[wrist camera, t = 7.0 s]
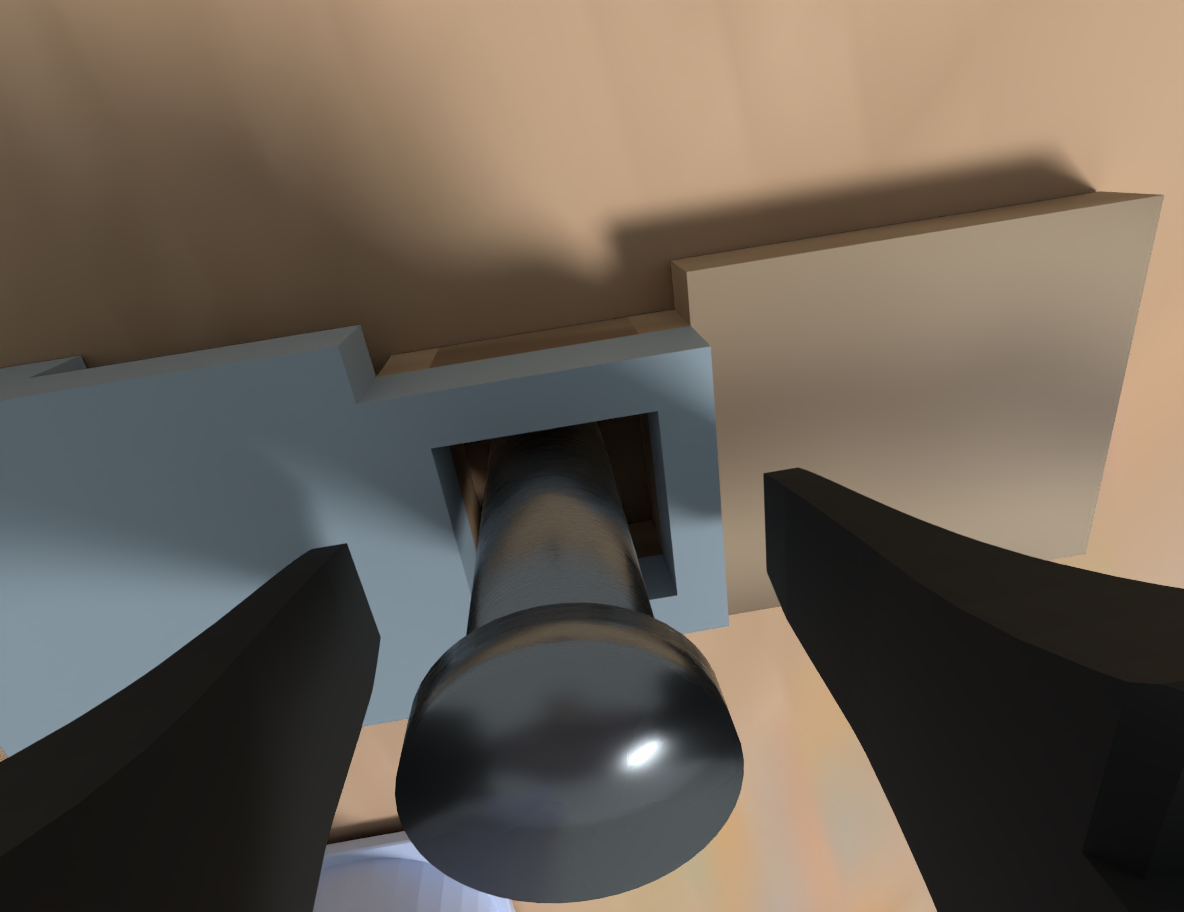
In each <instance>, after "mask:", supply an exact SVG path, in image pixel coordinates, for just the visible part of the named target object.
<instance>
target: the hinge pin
mask: <svg viewBox="0 0 1184 912" xmlns="http://www.w3.org/2000/svg"><path fill="white" fill-rule="evenodd" d="M743 775H744V759H743V753H742V747H741V743H740V740H739V738H738V735H737V732H736V729H735V727H734V724H733V721H732V719H731V716H730V713H729V711H728V708H727V705H726V703H725V700H724V697H723V695H722V692H721V689H720V687H719V684H718V681H717V679H716V676H715V673H714V671H713V670H712V668H711V666H710V664H709V663H708V661H707V659H706V658H705V657H704V656H703V654H702V653H701V652H700V651H699V650H698V648H697V647H696V646H695V645H694V644H693V643H692V642H691V641H689V640H688V639H687V638H686V637H685V636H684V635H683V634H681V633H680V632H678V631H677V630H675V629H674V628H672V627H670V626H669V625H667V624H666V623H664V622H662V621H660V620H657V619H655V618H654V615H653V611H652V608H651V604H650V601H649V597H648V594H647V590H646V587H645V583H644V580H643V576H642V573H641V569H640V566H639V562H638V559H637V555H636V552H635V548H634V545H633V541H632V538H631V534H630V531H629V527H628V524H627V520H626V517H625V513H624V510H623V506H622V503H621V499H620V495H619V492H618V488H617V485H616V481H615V478H614V474H613V471H612V467H611V464H610V460H609V457H608V453H607V450H606V446H605V443H604V439H603V436H602V433H601V431H600V428H599V427H598V425H597V423H596V422H595V421H594V422H588V423H582V424H576V425H570V426H564V427H558V428H552V429H546V430H540V431H534V432H528V433H522V434H516V435H510V436H503V437H497V438H492V440H491V446H490V454H489V461H488V469H487V477H486V485H485V492H484V500H483V508H482V516H481V523H480V531H479V539H478V547H477V555H476V562H475V570H474V578H473V586H472V593H471V601H470V609H469V617H468V624H467V632H466V636H465V637H463V638H462V639H460V640H459V641H458V642H456V643H455V644H454V645H453V646H452V647H451V648H449V649H448V650H447V651H446V652H445V653H444V654H443V655H442V656H441V657H440V658H439V659H438V660H437V661H436V663H435V664H434V665H433V666H432V667H431V668H430V670H429V671H428V673H427V674H426V676H425V677H424V679H423V680H422V682H421V684H420V686H419V688H418V690H417V693H416V695H415V697H414V700H413V703H412V707H411V711H410V715H409V720H408V724H407V729H406V734H405V738H404V743H403V748H402V752H401V757H400V762H399V766H398V771H397V776H396V787H395V798H396V806H397V812H398V815H399V818H400V821H401V824H402V827H403V829H404V831H405V832H406V834H407V836H408V838H409V840H410V841H411V843H412V844H413V845H414V847H415V848H416V849H417V850H418V852H419V853H420V854H421V855H422V856H423V857H424V858H425V859H426V860H427V861H428V862H429V863H430V864H431V865H433V866H434V867H435V868H437V869H438V870H439V871H441V872H442V873H444V874H445V875H446V876H448V877H450V878H452V879H454V880H455V881H457V882H459V883H461V884H463V885H465V886H468V887H470V888H473V889H475V890H477V891H480V892H483V893H487V894H490V895H493V896H497V897H501V898H506V899H511V900H517V901H525V902H535V903H568V902H581V901H587V900H593V899H600V898H604V897H608V896H612V895H617V894H620V893H623V892H626V891H630V890H633V889H636V888H639V887H641V886H643V885H646V884H648V883H650V882H653V881H655V880H657V879H659V878H661V877H663V876H665V875H667V874H668V873H670V872H672V871H674V870H675V869H677V868H678V867H680V866H681V865H683V864H684V863H686V862H687V861H689V860H690V859H691V858H693V857H694V856H695V855H696V854H697V853H699V852H700V851H701V850H702V849H703V848H705V847H706V845H707V844H708V843H709V842H710V841H711V840H712V839H713V838H714V837H715V836H716V835H717V834H718V832H719V831H720V830H721V828H722V827H723V826H724V824H725V823H726V822H727V820H728V818H729V816H730V815H731V813H732V811H733V809H734V807H735V805H736V802H737V799H738V797H739V794H740V791H741V786H742V781H743Z"/></svg>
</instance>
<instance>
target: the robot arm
mask: <svg viewBox="0 0 1184 912" xmlns="http://www.w3.org/2000/svg"><path fill="white" fill-rule="evenodd" d="M763 479H764V510H765V540H766V571H767V574H768V576H769V579H770V581H771V584H772V586H773V588H774V591H775V593H776V596H777V598H778V600H779V603H780V605H781V607H782V609H783V612H784V614H785V616H786V619H787V620H788V622H789V624H790V626H791V627H792V629H793V631H794V632H795V634H796V636H797V637H798V639H799V641H800V643H801V644H802V646H803V648H804V649H805V651H806V653H807V654H808V656H809V658H810V659H811V661H812V663H813V664H814V666H815V668H816V669H817V671H818V672H819V674H820V676H821V677H822V679H823V681H824V682H825V684H826V686H827V687H828V689H829V691H830V692H831V694H832V696H833V697H834V699H835V701H836V702H837V704H838V706H839V707H840V709H841V710H842V712H843V714H844V715H845V717H846V719H847V720H848V722H849V724H850V725H851V727H852V729H853V731H854V733H855V734H856V736H857V738H858V740H859V742H860V743H861V745H862V747H863V749H864V751H865V753H866V755H867V757H868V759H869V761H870V763H871V765H872V767H873V769H874V772H875V774H876V776H877V778H878V780H879V782H880V784H881V786H882V789H883V791H884V793H885V795H886V797H887V799H888V801H889V803H890V805H891V808H892V810H893V812H894V814H895V816H896V818H897V821H898V823H899V825H900V827H901V830H902V832H903V834H904V836H905V839H906V841H907V843H908V845H909V847H910V850H911V852H912V854H913V856H914V859H915V861H916V863H917V865H918V868H919V870H920V872H921V874H922V876H923V879H924V881H925V883H926V886H927V888H928V890H929V893H930V895H931V897H932V900H933V902H934V905H935V907H936V909H937V912H1184V589H1182V588H1175V587H1169V586H1163V585H1157V584H1152V583H1147V582H1141V581H1136V580H1131V579H1126V578H1120V577H1115V576H1111V575H1106V574H1102V573H1098V572H1093V571H1089V570H1084V569H1080V568H1076V567H1071V566H1067V565H1062V564H1058V563H1054V562H1050V561H1047V560H1043V559H1039V558H1035V557H1031V556H1028V555H1024V554H1021V553H1018V552H1014V551H1011V550H1008V549H1004V548H1001V547H998V546H994V545H991V544H988V543H984V542H981V541H978V540H975V539H972V538H969V537H966V536H963V535H960V534H957V533H955V532H952V531H949V530H947V529H944V528H941V527H939V526H936V525H934V524H931V523H928V522H926V521H923V520H920V519H918V518H915V517H913V516H910V515H908V514H906V513H903V512H901V511H898V510H896V509H894V508H891V507H889V506H887V505H884V504H882V503H880V502H878V501H875V500H873V499H871V498H869V497H866V496H864V495H862V494H860V493H857V492H855V491H853V490H851V489H849V488H846V487H844V486H842V485H840V484H838V483H836V482H833V481H831V480H829V479H827V478H824V477H822V476H820V475H817V474H815V473H813V472H810V471H808V470H805V469H802V468H799V467H797V468H791V469H785V470H779V471H773V472H768V473H763ZM380 639H381V636H380V634H379V631H378V628H377V625H376V623H375V620H374V617H373V614H372V611H371V609H370V606H369V603H368V600H367V598H366V595H365V592H364V589H363V586H362V584H361V581H360V578H359V575H358V572H357V570H356V567H355V564H354V561H353V559H352V556H351V553H350V550H349V547H348V545H347V543H344V544H338V545H332V546H326V547H321V548H315V549H311V550H309V551H307V552H306V553H304V554H303V555H301V556H300V557H298V558H297V559H295V560H294V561H293V562H291V563H290V564H289V565H287V566H286V567H285V568H283V569H282V570H281V571H280V572H278V573H277V574H276V575H274V576H273V577H272V578H271V579H269V580H268V581H267V582H266V583H264V584H263V585H262V586H261V587H259V588H258V589H257V590H256V591H254V592H253V593H252V594H251V595H249V596H248V597H247V598H246V599H244V600H243V601H242V602H241V603H239V604H238V605H237V606H236V607H234V608H233V609H232V610H231V611H229V612H228V613H227V614H226V615H224V616H223V617H222V618H221V619H219V620H218V621H217V622H215V623H214V624H213V625H211V626H210V627H209V628H207V629H206V630H205V631H203V632H202V633H201V634H199V635H198V636H197V637H195V638H194V639H193V640H191V641H190V642H189V643H187V644H186V645H185V646H183V647H182V648H181V649H179V650H178V651H177V652H175V653H174V654H172V655H171V656H170V657H168V658H167V659H166V660H164V661H163V662H162V663H160V664H159V665H158V666H156V667H155V668H153V669H152V670H150V671H149V672H148V673H146V674H145V675H143V676H142V677H140V678H139V679H137V680H136V681H134V682H133V683H131V684H130V685H128V686H127V687H126V688H124V689H122V690H121V691H119V692H118V693H116V694H115V695H113V696H112V697H110V698H108V699H107V700H105V701H104V702H102V703H101V704H99V705H97V706H96V707H94V708H93V709H91V710H90V711H88V712H86V713H85V714H83V715H82V716H80V717H78V718H77V719H75V720H73V721H72V722H70V723H68V724H67V725H65V726H63V727H61V728H60V729H58V730H56V731H54V732H53V733H51V734H49V735H47V736H45V737H44V738H42V739H40V740H38V741H37V742H35V743H33V744H31V745H30V746H28V747H26V748H24V749H23V750H21V751H19V752H17V753H16V754H14V755H12V756H10V757H8V758H7V759H5V760H3V761H1V762H0V912H515V909H514V906H513V903H512V900H511V899H506V898H501V897H497V896H493V895H490V894H487V893H483V892H480V891H477V890H475V889H473V888H470V887H468V886H465V885H463V884H461V883H459V882H457V881H455V880H454V879H452V878H450V877H448V876H446V875H445V874H444V873H442V872H441V871H439V870H438V869H437V868H435V867H434V866H433V865H431V864H430V863H429V862H428V861H427V860H426V859H425V858H424V857H423V856H422V855H421V854H420V853H419V852H418V850H417V849H416V848H415V847H414V845H413V844H412V843H411V841H410V840H409V838H408V836H407V834H406V832H405V831H401V832H396V833H390V834H384V835H379V836H373V837H367V838H362V839H356V840H350V841H345V842H339V843H333V844H328V845H327V841H328V837H329V834H330V830H331V826H332V822H333V819H334V815H335V812H336V809H337V806H338V802H339V799H340V796H341V793H342V789H343V786H344V783H345V780H346V777H347V773H348V770H349V767H350V764H351V761H352V757H353V754H354V751H355V748H356V744H357V741H358V738H359V735H360V731H361V728H362V725H363V722H364V718H365V715H366V712H367V708H368V705H369V701H370V698H371V694H372V691H373V685H374V680H375V674H376V668H377V661H378V654H379V647H380Z"/></svg>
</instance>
